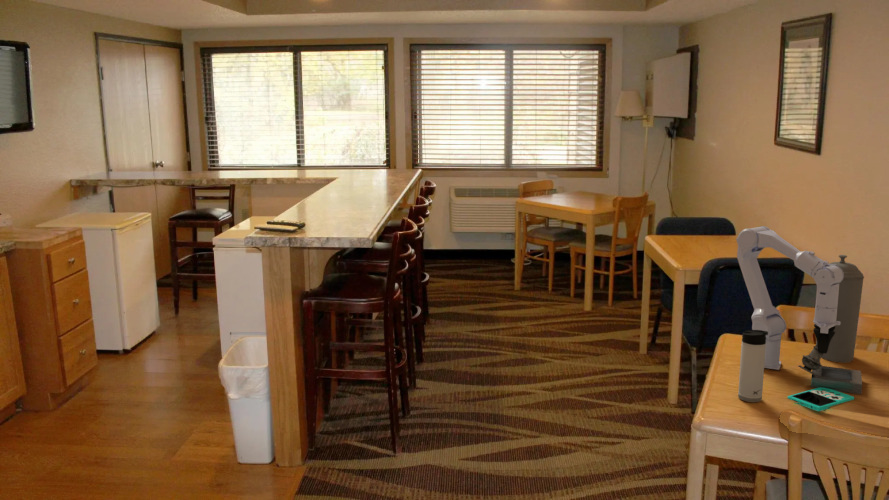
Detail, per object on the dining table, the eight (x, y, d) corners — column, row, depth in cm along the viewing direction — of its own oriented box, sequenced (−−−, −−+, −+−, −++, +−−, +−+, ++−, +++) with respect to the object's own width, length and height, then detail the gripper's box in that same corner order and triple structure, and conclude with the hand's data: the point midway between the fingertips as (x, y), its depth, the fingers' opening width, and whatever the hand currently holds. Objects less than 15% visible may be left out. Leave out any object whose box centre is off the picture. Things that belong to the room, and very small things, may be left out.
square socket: (810, 387, 214) (811, 377, 213) (812, 373, 225) (812, 364, 224) (861, 394, 208) (862, 384, 207) (860, 380, 219) (860, 370, 218)
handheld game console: (855, 401, 204) (855, 396, 204) (819, 412, 197) (819, 407, 197) (822, 389, 213) (822, 385, 213) (786, 400, 206) (786, 395, 205)
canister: (864, 365, 232) (875, 258, 226) (826, 366, 232) (836, 259, 226) (840, 353, 245) (850, 251, 239) (804, 354, 244) (812, 252, 238)
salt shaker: (819, 377, 212) (840, 342, 211) (800, 368, 213) (822, 332, 211) (811, 373, 218) (832, 339, 217) (793, 363, 218) (814, 329, 217)
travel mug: (761, 404, 201) (766, 335, 198) (736, 399, 205) (740, 331, 201) (764, 397, 206) (769, 329, 203) (740, 392, 210) (744, 326, 206)
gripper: (841, 313, 204) (837, 359, 206) (841, 302, 216) (837, 345, 219) (813, 310, 207) (810, 356, 209) (815, 299, 220) (811, 342, 222)
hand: (822, 350), depth 214 cm, fingers closed on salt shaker, 4 cm apart
